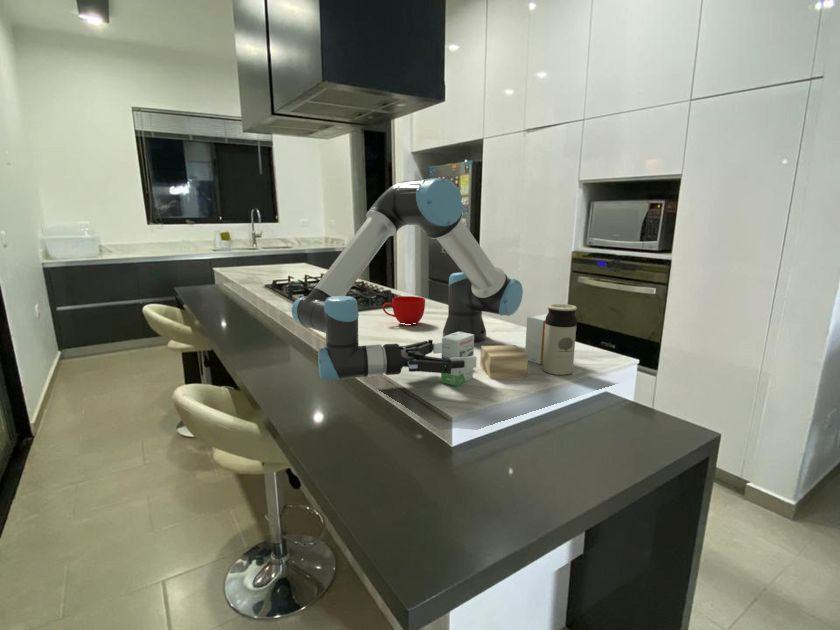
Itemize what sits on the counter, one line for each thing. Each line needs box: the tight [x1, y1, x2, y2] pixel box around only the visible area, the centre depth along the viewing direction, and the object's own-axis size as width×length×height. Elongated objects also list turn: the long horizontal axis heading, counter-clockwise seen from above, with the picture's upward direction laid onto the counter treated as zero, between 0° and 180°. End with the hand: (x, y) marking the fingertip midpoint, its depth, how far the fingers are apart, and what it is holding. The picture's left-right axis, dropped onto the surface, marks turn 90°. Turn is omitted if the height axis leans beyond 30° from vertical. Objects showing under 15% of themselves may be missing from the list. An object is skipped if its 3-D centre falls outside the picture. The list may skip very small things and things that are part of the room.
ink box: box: [440, 332, 475, 387], centre depth 114 cm, size 9×5×12 cm, turn 145°
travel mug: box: [541, 303, 578, 376], centre depth 120 cm, size 8×8×18 cm
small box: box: [524, 313, 548, 365], centre depth 131 cm, size 8×6×13 cm
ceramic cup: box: [382, 295, 426, 324], centre depth 175 cm, size 13×17×10 cm
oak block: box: [479, 344, 529, 379], centre depth 121 cm, size 10×10×6 cm
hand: (465, 353), depth 114 cm, fingers open, 13 cm apart
